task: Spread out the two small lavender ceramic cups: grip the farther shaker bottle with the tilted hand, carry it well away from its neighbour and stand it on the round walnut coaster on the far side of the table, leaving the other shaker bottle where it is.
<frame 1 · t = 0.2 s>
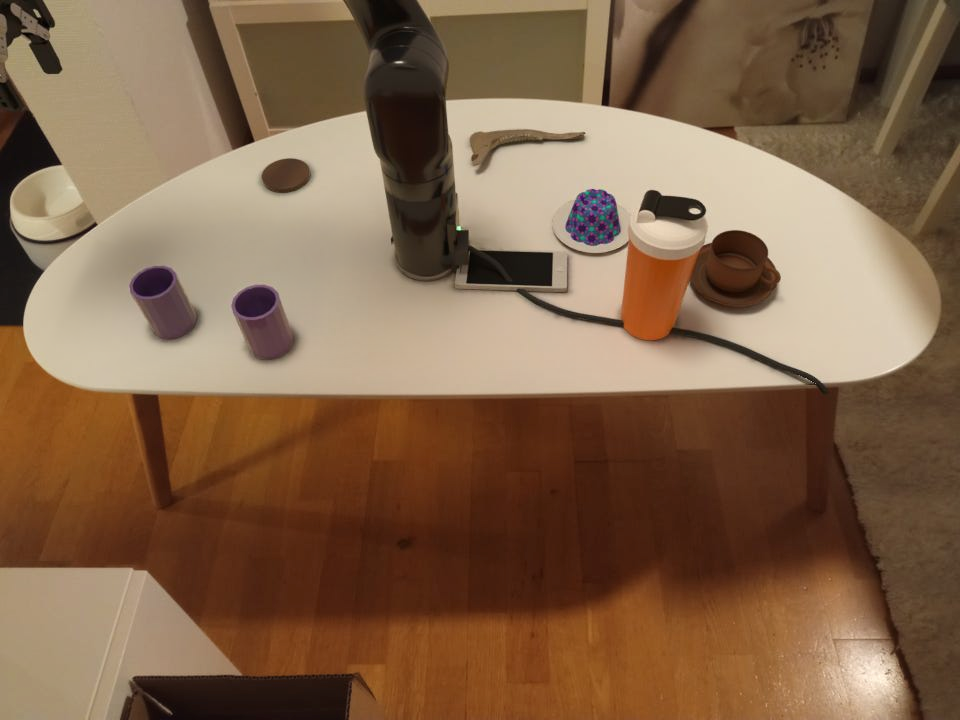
hand: (36, 91, 89), 28 cm above the table, tool pointing down, fingers open, 8 cm apart
smartphone: (511, 273, 108), on the table, touching arm
cup b: (271, 342, 101), on the table
jawbone: (526, 154, 124), on the table
shaker bottle: (647, 321, 101), on the table
cup and saucer: (728, 282, 105), on the table
cup a: (174, 322, 104), on the table
pudding: (592, 228, 113), on the table
coaster: (286, 177, 122), on the table
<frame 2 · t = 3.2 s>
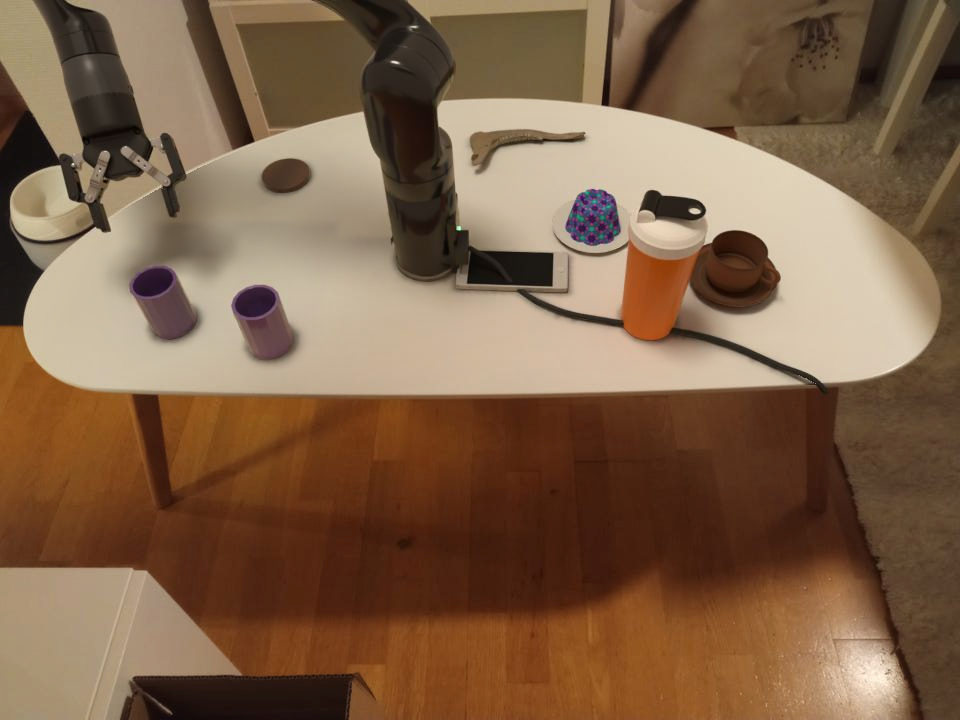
hand: (140, 224, 99), 11 cm above the table, tool tilted 45°, fingers open, 8 cm apart
nothing on the table moved.
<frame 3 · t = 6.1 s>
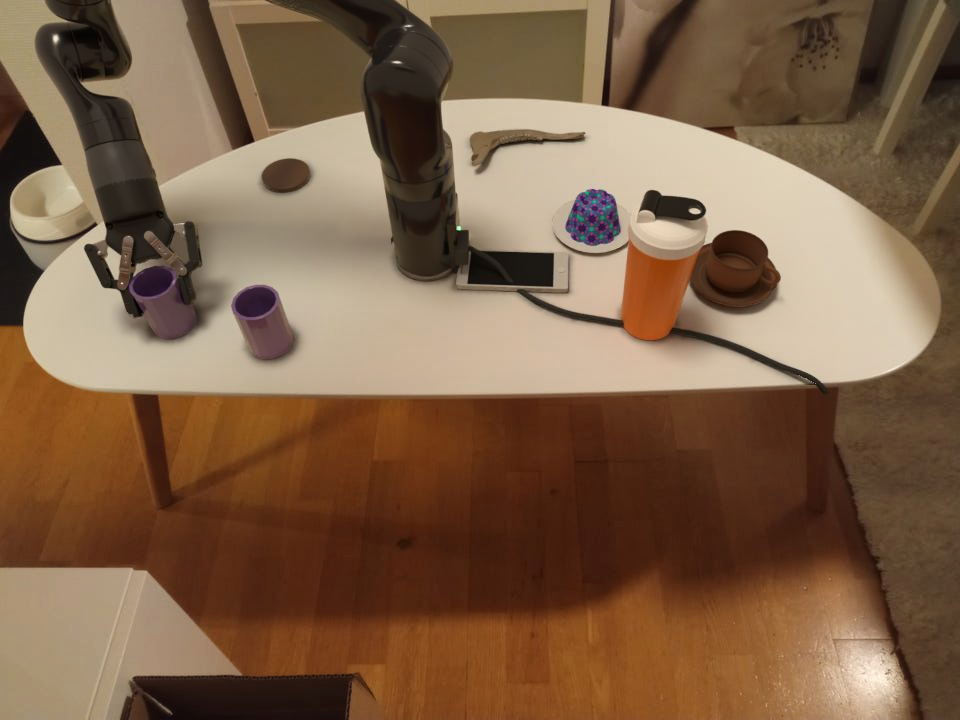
hand: (164, 310, 99), 4 cm above the table, tool tilted 45°, fingers closed on cup a, 6 cm apart
cup a: (174, 322, 104), on the table, touching gripper
everything else where it was.
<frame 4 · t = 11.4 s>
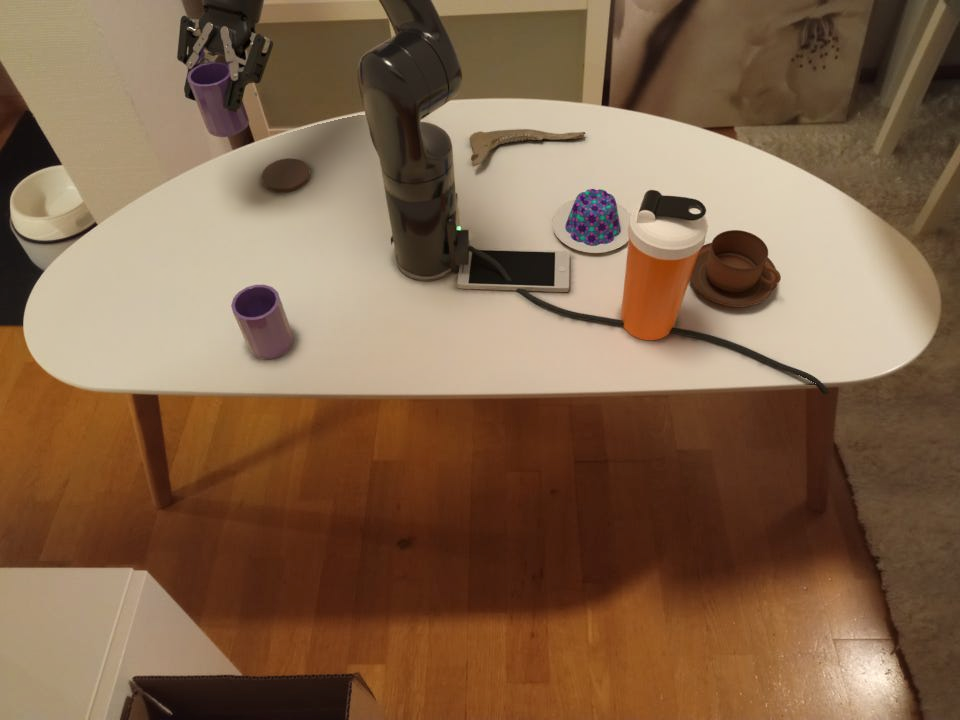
hand: (210, 104, 104), 18 cm above the table, tool tilted 45°, fingers closed on cup a, 6 cm apart
cup a: (228, 124, 108), point 14 cm above the table, touching gripper
everything else where it was.
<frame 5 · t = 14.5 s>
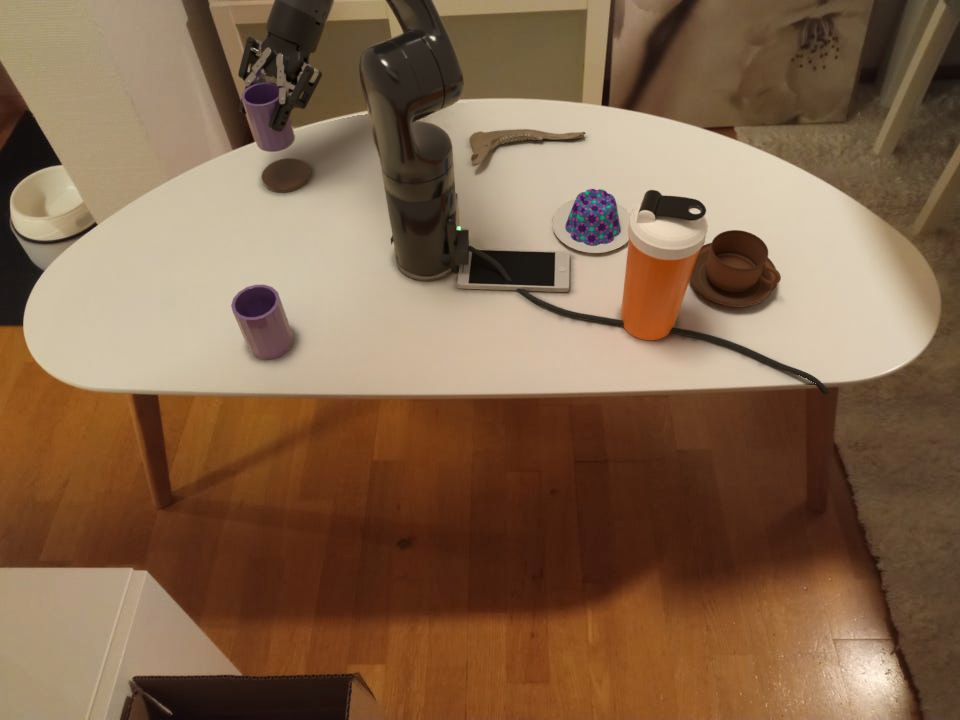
hand: (259, 121, 112), 11 cm above the table, tool tilted 45°, fingers closed on cup a, 6 cm apart
smartphone: (514, 272, 107), on the table
cup a: (275, 139, 116), point 7 cm above the table, touching gripper
everything else where it was.
when the fingers open (5 cm above the table, at t = 16.8 s): cup a stays where it is, resting on coaster.
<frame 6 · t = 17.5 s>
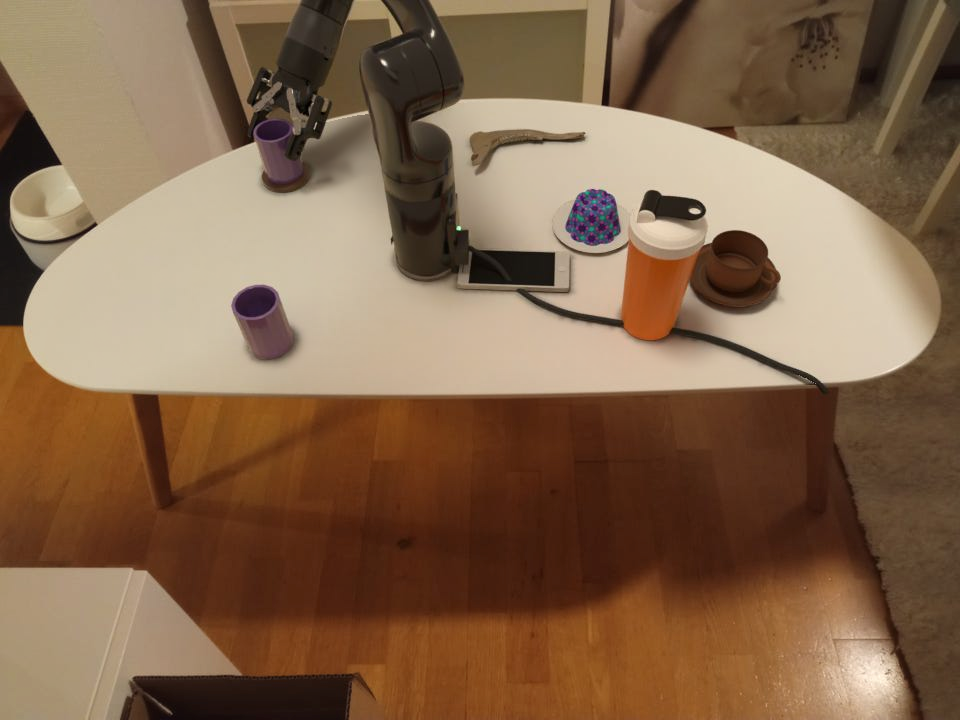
hand: (271, 148, 116), 6 cm above the table, tool tilted 45°, fingers open, 8 cm apart
cup a: (285, 172, 121), point 1 cm above the table, touching coaster
everything else where it was.
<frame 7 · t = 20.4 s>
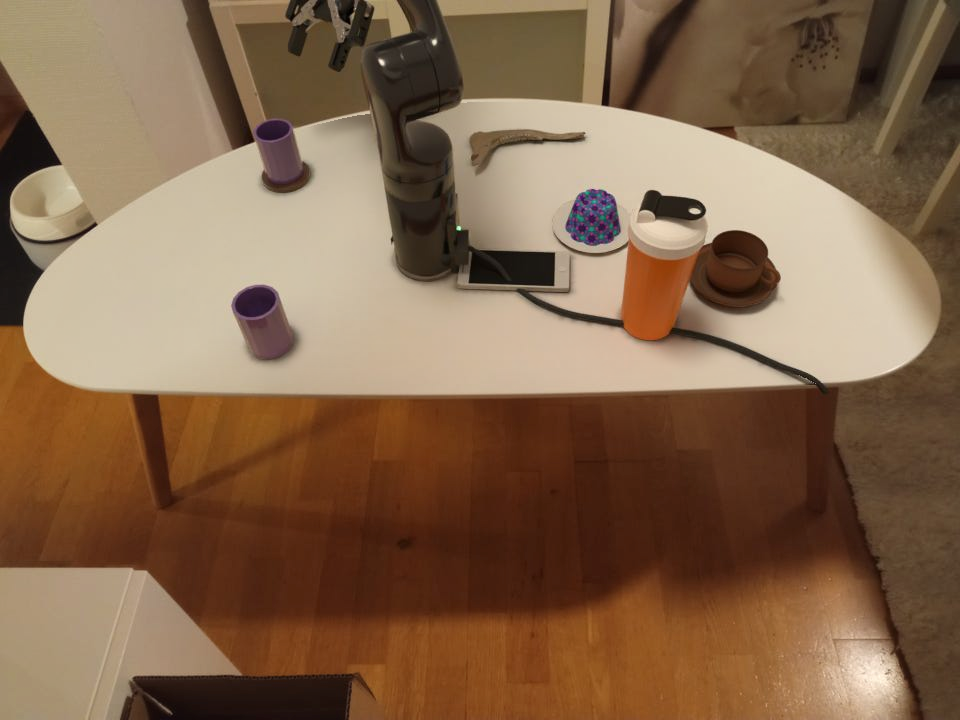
hand: (313, 62, 114), 15 cm above the table, tool tilted 45°, fingers open, 8 cm apart
nothing on the table moved.
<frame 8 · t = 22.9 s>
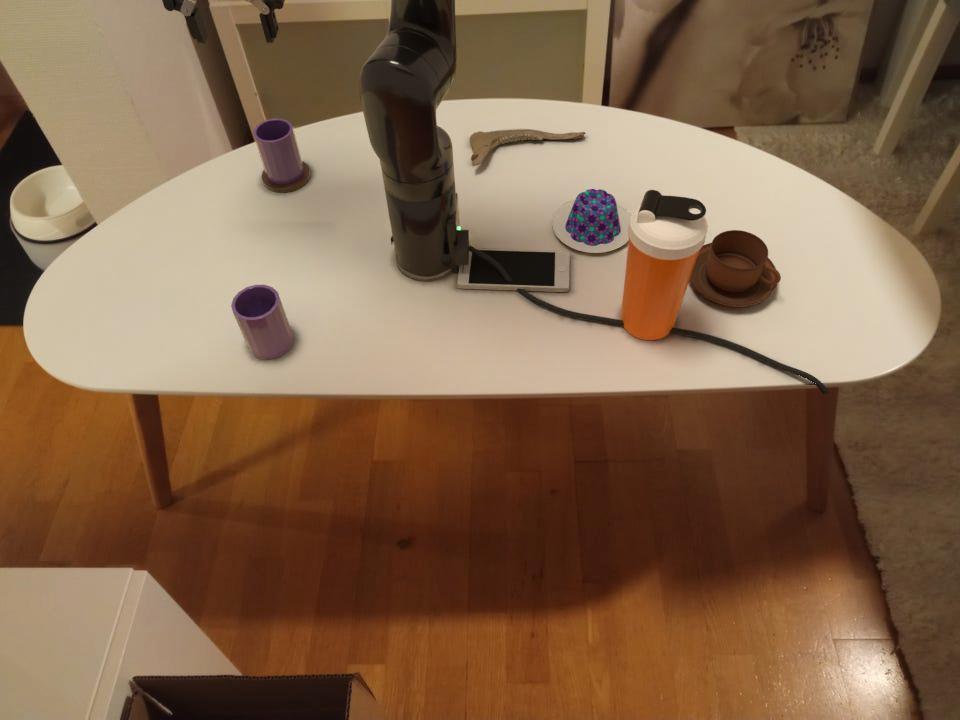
hand: (237, 40, 94), 28 cm above the table, tool pointing down, fingers open, 8 cm apart
nothing on the table moved.
at the end: cup a 0.1 cm off-centre on the coaster, point 0.8 cm above the coaster's base; cup a tilted 0°; cup b moved 0.0 cm from its start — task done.
